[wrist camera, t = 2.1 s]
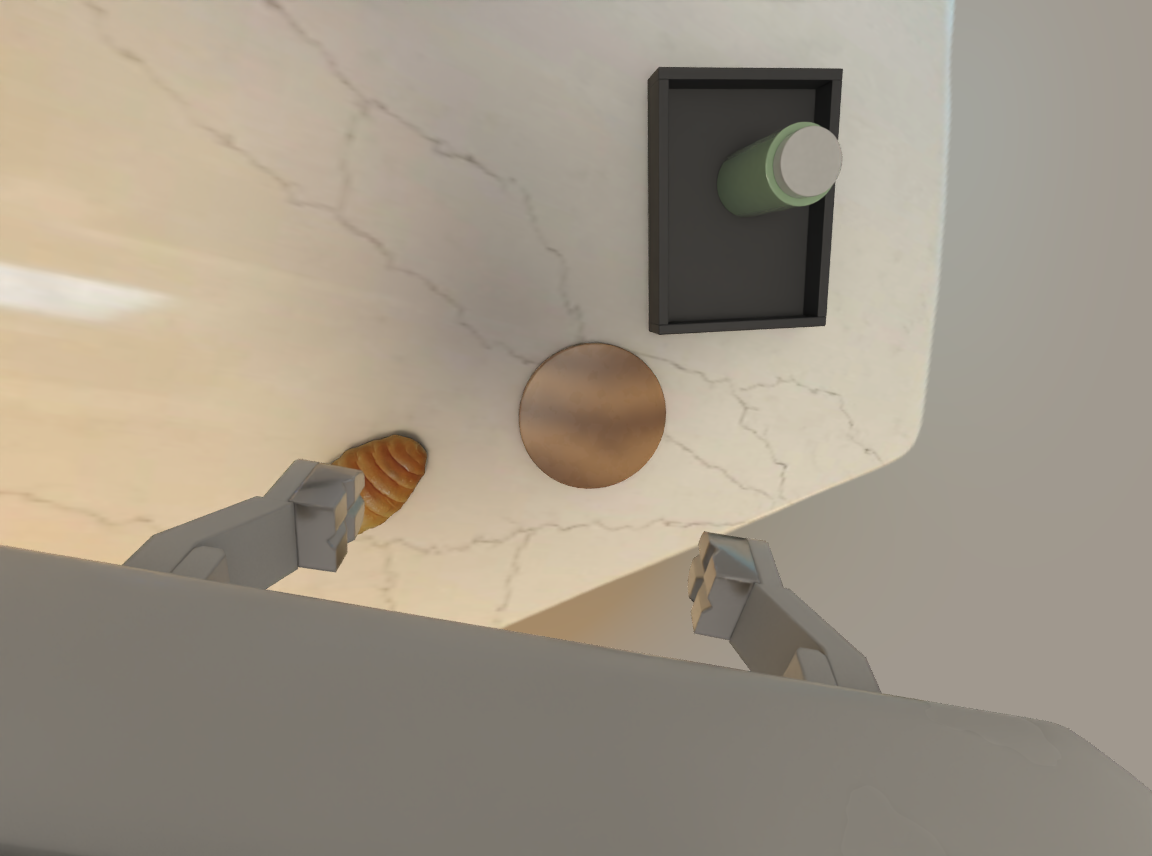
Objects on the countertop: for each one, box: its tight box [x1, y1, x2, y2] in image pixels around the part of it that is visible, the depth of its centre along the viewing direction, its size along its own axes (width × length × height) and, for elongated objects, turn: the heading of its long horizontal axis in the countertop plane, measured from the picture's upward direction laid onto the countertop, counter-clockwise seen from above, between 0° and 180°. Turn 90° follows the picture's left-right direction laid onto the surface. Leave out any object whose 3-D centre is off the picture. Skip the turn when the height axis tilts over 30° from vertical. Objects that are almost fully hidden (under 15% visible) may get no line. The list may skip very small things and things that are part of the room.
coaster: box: [519, 343, 666, 489], centre depth 54 cm, size 13×13×1 cm
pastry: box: [331, 435, 427, 534], centre depth 51 cm, size 9×7×4 cm
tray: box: [648, 67, 843, 335], centre depth 50 cm, size 20×15×3 cm
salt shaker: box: [717, 122, 842, 217], centre depth 45 cm, size 5×5×10 cm
